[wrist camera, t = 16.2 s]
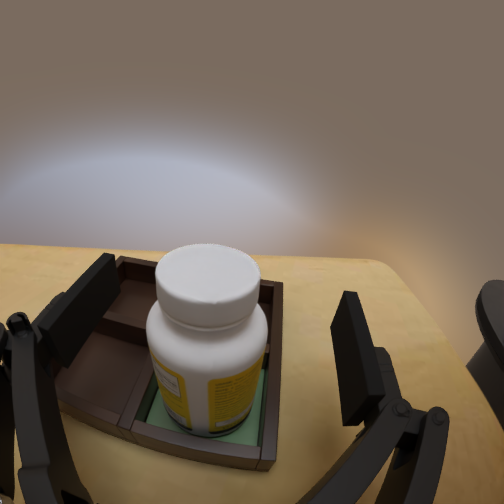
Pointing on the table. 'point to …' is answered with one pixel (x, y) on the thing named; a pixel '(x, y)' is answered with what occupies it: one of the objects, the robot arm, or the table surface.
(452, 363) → the table surface
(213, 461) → the compartment tray
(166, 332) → the supplement bottle
